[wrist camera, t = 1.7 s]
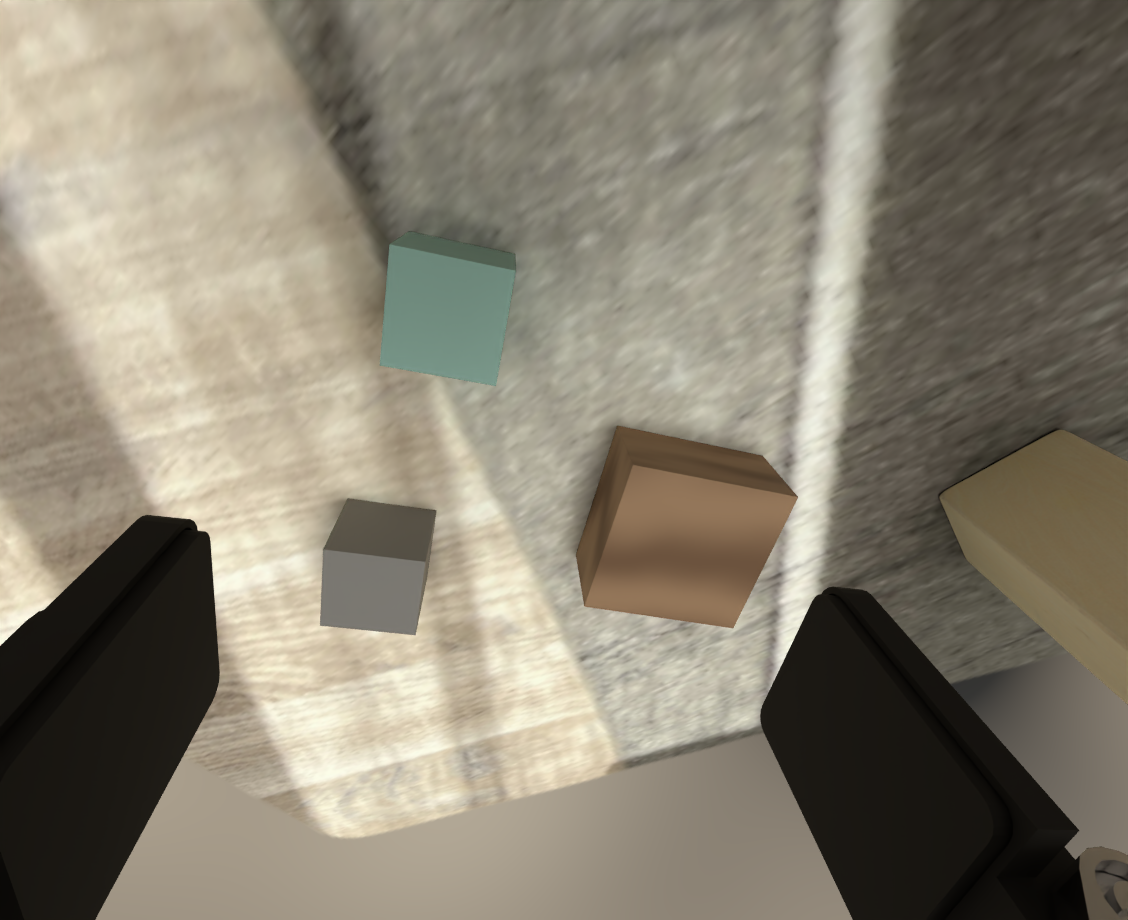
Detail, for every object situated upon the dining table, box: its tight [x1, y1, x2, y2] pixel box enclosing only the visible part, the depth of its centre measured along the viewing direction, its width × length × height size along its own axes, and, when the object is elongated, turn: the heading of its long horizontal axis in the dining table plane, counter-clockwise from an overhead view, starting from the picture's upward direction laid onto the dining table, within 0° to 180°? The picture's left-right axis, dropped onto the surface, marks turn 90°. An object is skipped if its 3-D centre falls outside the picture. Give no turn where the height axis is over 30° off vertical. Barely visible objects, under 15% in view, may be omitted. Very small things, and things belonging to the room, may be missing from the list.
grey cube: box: [320, 499, 436, 635], centre depth 33 cm, size 5×5×5 cm
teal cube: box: [380, 231, 516, 386], centre depth 26 cm, size 5×5×5 cm
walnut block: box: [576, 426, 798, 628], centre depth 33 cm, size 9×9×5 cm
